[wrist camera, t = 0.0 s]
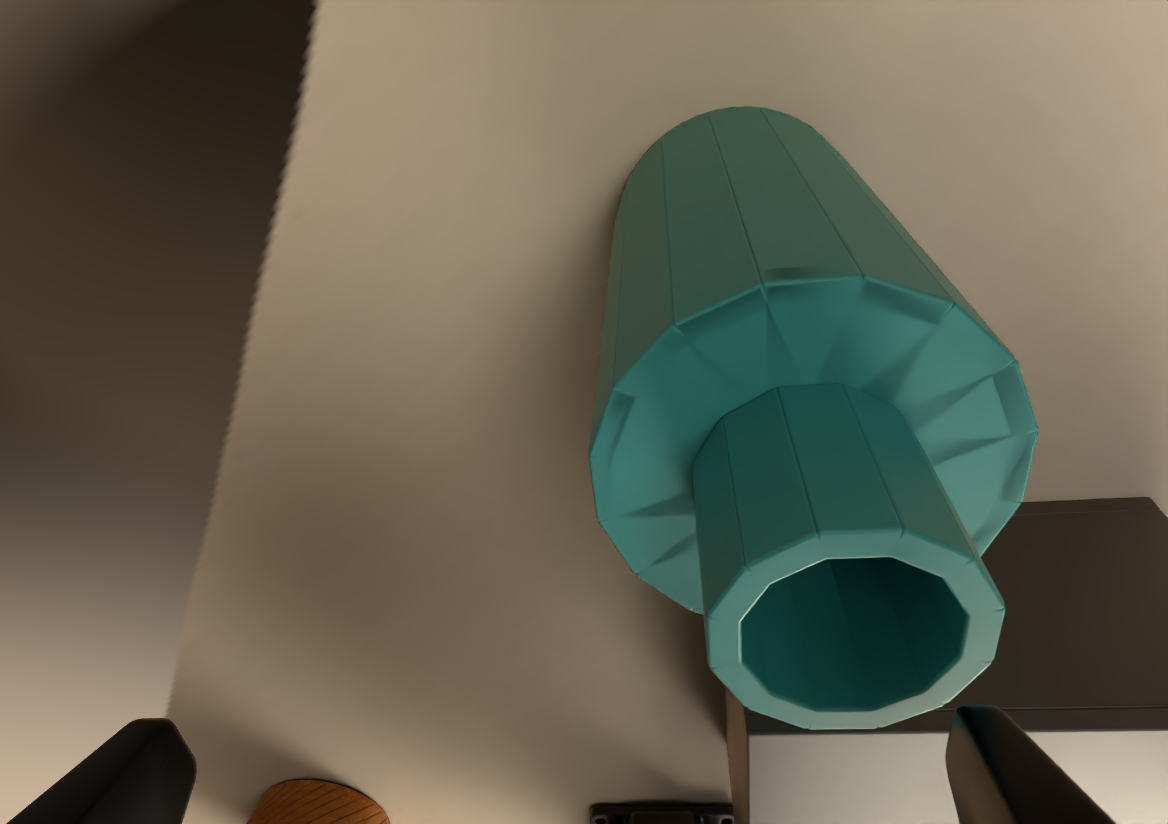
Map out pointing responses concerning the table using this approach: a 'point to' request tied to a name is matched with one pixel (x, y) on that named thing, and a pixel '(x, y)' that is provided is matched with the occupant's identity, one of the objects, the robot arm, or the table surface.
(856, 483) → the detergent bottle
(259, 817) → the disposable coffee cup
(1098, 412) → the table surface
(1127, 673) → the drawer box
